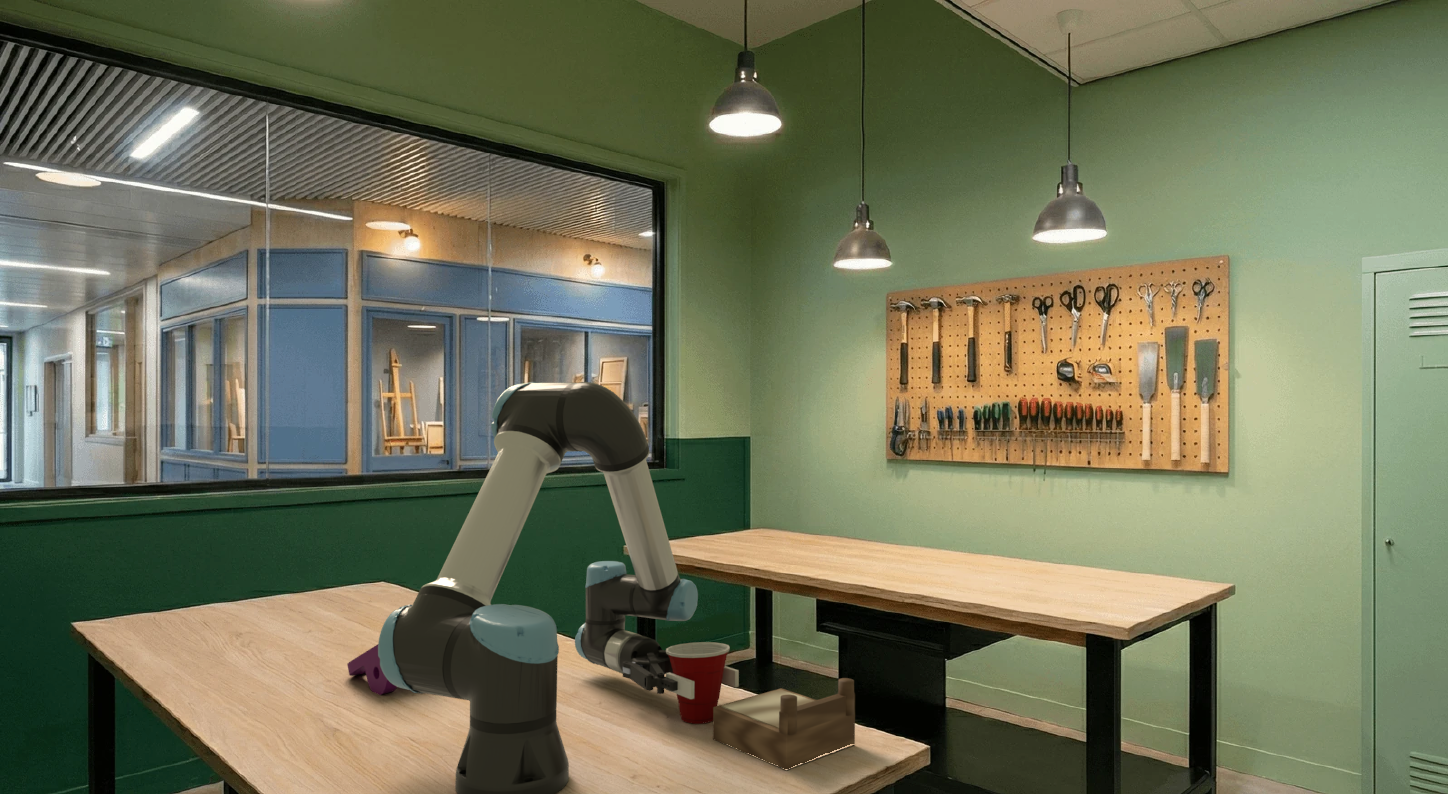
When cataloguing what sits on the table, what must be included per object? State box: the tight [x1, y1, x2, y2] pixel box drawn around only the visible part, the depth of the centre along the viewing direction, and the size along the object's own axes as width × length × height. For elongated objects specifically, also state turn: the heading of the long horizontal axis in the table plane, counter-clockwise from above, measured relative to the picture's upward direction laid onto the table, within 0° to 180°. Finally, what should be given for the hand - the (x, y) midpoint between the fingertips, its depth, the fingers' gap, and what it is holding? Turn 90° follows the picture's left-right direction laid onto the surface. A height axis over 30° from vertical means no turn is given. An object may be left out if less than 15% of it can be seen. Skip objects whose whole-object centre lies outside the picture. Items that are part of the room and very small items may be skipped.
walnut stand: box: [712, 677, 856, 770], centre depth 137 cm, size 16×15×10 cm
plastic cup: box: [665, 641, 731, 725], centre depth 148 cm, size 11×11×12 cm
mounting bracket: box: [347, 643, 398, 696], centre depth 167 cm, size 9×8×18 cm
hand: (715, 684), depth 145 cm, fingers closed on plastic cup, 9 cm apart
